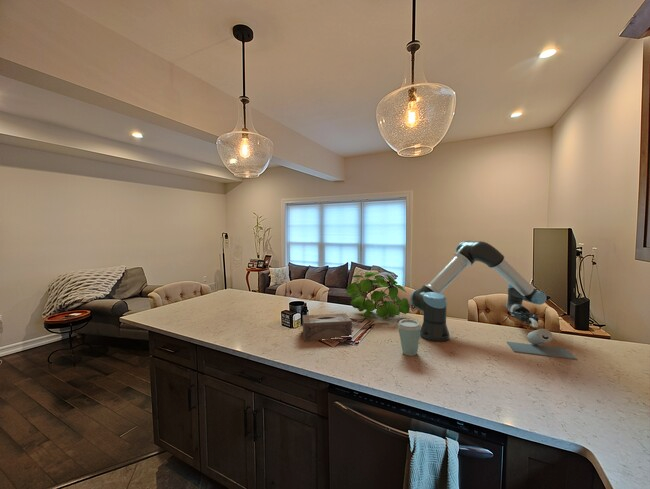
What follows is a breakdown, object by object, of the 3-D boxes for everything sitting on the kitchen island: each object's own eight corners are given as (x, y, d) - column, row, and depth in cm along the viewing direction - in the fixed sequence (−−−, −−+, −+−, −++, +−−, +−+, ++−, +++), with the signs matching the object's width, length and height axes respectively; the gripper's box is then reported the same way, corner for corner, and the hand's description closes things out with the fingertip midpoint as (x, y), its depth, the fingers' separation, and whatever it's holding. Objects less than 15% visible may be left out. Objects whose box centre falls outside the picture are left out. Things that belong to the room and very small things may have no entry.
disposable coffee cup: (422, 359, 122) (422, 326, 121) (398, 357, 124) (398, 324, 123) (419, 349, 132) (419, 319, 132) (396, 347, 134) (396, 317, 134)
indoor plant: (397, 296, 214) (406, 265, 199) (406, 337, 178) (419, 303, 163) (342, 289, 215) (348, 257, 200) (341, 329, 179) (347, 294, 164)
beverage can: (526, 342, 137) (537, 339, 127) (526, 330, 140) (538, 326, 129) (540, 346, 135) (553, 344, 125) (541, 334, 138) (553, 330, 127)
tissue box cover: (304, 342, 143) (304, 323, 142) (302, 332, 157) (302, 315, 156) (351, 339, 146) (351, 321, 146) (345, 329, 160) (345, 313, 160)
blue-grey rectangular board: (514, 351, 129) (514, 350, 129) (506, 342, 140) (506, 341, 140) (577, 359, 120) (577, 358, 120) (564, 349, 131) (564, 348, 131)
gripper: (533, 319, 156) (551, 333, 134) (506, 317, 161) (520, 330, 139) (533, 306, 156) (551, 318, 134) (507, 304, 160) (520, 316, 138)
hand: (535, 324), depth 136 cm, fingers closed
